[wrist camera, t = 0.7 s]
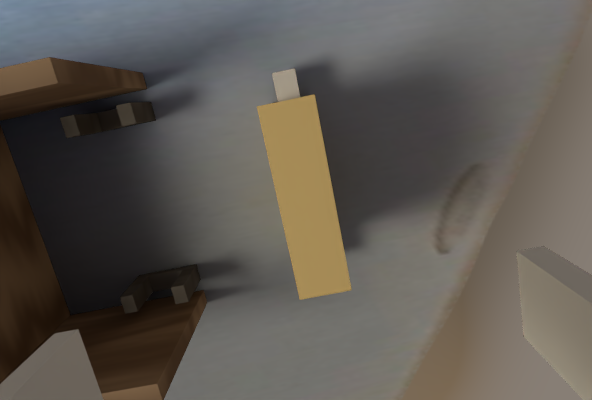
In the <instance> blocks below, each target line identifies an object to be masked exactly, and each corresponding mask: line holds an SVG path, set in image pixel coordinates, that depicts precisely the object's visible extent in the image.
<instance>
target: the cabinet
mask: <svg viewBox="0 0 592 400" xmlns="http://www.w3.org/2000/svg"><path fill="white" fill-rule="evenodd" d="M144 89H147V87H146V83H145V80H144V76H143V73H141V72H135V71H129V70H123V69H117V68H111V67H105V66H99V65H93V64H87V63H81V62H75V61H69V60H63V59H57V58H51V57H48V58H44V59H40V60H35V61H31V62H26V63H22V64H17V65H13V66H8V67H4V68H0V121H2V120H6V119H11V118H16V117H20V116H25V115H29V114H34V113H39V112H43V111H48V110H52V109H57V108H62V107H66V106H71V105H75V104H80V103H85V102H89V101H94V100H98V99H103V98H108V97H112V96H117V95H121V94H126V93H130V92H135V91H140V90H144ZM116 107H117V109H114V110H109V111H104V112H100V113H92V114H78V115H70V116H66V117H61V118H60V120H61V123H62V126H63V129H64V132H65V135H66V138H70V137H76V136H82V135H88V134H94V133H99V132H103V131H108V130H113V129H117V128H122V127H127V126H131V125H136V124H141V123H146V122H150V121H155V120H156V119H155V115H154V112H153V108H152V105H151V102H133V103H126V104H121V105H117V106H116ZM200 280H201V279H200V275H199V272H198V268H197V265H191V266H185V267H180V268H175V269H170V270H165V271H160V272H154V273H149V274H144V275H139V276H138V278H137V279H136V280H135V281H134V282H133V283H132V284H131V285H130V286H129V288H128V289H127V290H126V291H125V292H124V293H123V294H122V295H121V296H120V299H121V302H122V306H117V307H111V308H106V309H101V310H95V311H90V312H85V313H79V314H74V315H70V312H69V310H68V307H67V304H66V302H65V299H64V296H63V293H62V291H61V288H60V285H59V283H58V280H57V277H56V275H55V272H54V269H53V266H52V264H51V261H50V258H49V256H48V253H47V250H46V247H45V245H44V242H43V239H42V237H41V234H40V231H39V229H38V226H37V223H36V220H35V218H34V215H33V212H32V210H31V207H30V204H29V201H28V199H27V196H26V193H25V191H24V188H23V185H22V183H21V180H20V177H19V174H18V172H17V169H16V166H15V164H14V161H13V158H12V156H11V153H10V150H9V147H8V145H7V142H6V139H5V137H4V134H3V131H2V128H1V126H0V384H1V383H2V382H3V381H4V380H5V379H6V378H7V377H8V376H9V375H11V374H12V373H13V372H14V371H15V370H16V369H17V368H18V367H19V366H20V365H21V364H22V363H23V362H24V361H26V360H27V359H28V358H29V357H30V356H31V355H32V354H33V353H34V352H35V351H36V350H37V349H38V348H39V347H41V346H42V345H43V344H44V343H45V342H46V341H47V340H48V339H49V338H50V337H51V336H52V335H53V334H54V333H60V332H65V331H71V330H77V329H78V330H79V333H80V336H81V338H82V341H83V344H84V347H85V349H86V352H87V355H88V358H89V361H90V363H91V366H92V369H93V372H94V375H95V377H96V380H97V383H98V386H99V389H100V391H101V394H102V397H103V400H164V398H165V395H166V393H167V391H168V389H169V386H170V384H171V382H172V380H173V378H174V375H175V373H176V371H177V369H178V366H179V364H180V362H181V360H182V357H183V355H184V353H185V351H186V349H187V346H188V344H189V342H190V340H191V337H192V335H193V333H194V331H195V328H196V326H197V324H198V322H199V320H200V317H201V315H202V313H203V311H204V308H205V306H206V304H207V300H206V297H205V293H204V290H201V291H196V292H194V291H195V289H196V287H197V285H198V283H199V282H200ZM170 288H171V290H172V293H173V296H169V297H164V298H159V299H154V300H148V301H146V300H147V299H148V297H149V296H150V295H151V293H152V292H154V291H159V290H165V289H170Z"/></svg>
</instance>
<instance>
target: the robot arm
mask: <svg viewBox="0 0 592 400" xmlns="http://www.w3.org/2000/svg"><path fill="white" fill-rule="evenodd" d="M516 253H517V265H518V277H519V288H520V301H521V313H522V325H523V336H524V337H525V338H526V340H527V341H528V342H529V343H530V344H531V345H532V346H533V347H534V348H535V349H536V350H537V351H538V352H539V354H540V355H541V356H542V357H543V358H544V359H545V360H546V361H547V362H548V363H549V364H550V365H551V366H552V367H553V368H554V370H555V371H557V373H558V374H559V375H560V376H561V377H562V378H563V379H564V380H565V381H566V382H567V383H568V384H569V385H570V387H571V388H572V389H573V390H574V391H575V392H576V393H577V394H578V395H579V396H580V397H581V398H582V399H583V400H592V275H591V274H589V273H588V272H586V271H584V270H583V269H581V268H579V267H578V266H576V265H574V264H573V263H571V262H569V261H568V260H566V259H564V258H563V257H561V256H559V255H558V254H556V253H554V252H553V251H551V250H550V249H548V248H546V247H544V246H541V247H536V248H530V249H524V250H519V251H516ZM0 400H103V397H102V394H101V391H100V389H99V386H98V383H97V380H96V377H95V375H94V372H93V369H92V366H91V363H90V361H89V358H88V355H87V352H86V349H85V347H84V344H83V341H82V338H81V336H80V333H79V330H78V329H77V330H71V331H65V332H60V333H54V334H53V335H52V336H51V337H50V338H49V339H48V340H47V341H46V342H45V343H44V344H43V345H42V346H41V347H39V348H38V349H37V350H36V351H35V352H34V353H33V354H32V355H31V356H30V357H29V358H28V359H27V360H26V361H24V362H23V363H22V364H21V365H20V366H19V367H18V368H17V369H16V370H15V371H14V372H13V373H12V374H11V375H9V376H8V377H7V378H6V379H5V380H4V381H3V382H2V383H1V384H0Z"/></svg>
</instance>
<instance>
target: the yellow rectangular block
mask: <svg viewBox="0 0 592 400" xmlns="http://www.w3.org/2000/svg"><path fill="white" fill-rule="evenodd" d="M272 76H273V81H274V85H275V90H276V95H277V100H278V102H276V103H271V104H267V105H262V106H257V110H258V114H259V119H260V123H261V128H262V132H263V136H264V141H265V145H266V150H267V154H268V159H269V163H270V168H271V172H272V177H273V181H274V186H275V190H276V195H277V199H278V204H279V208H280V213H281V217H282V222H283V226H284V231H285V235H286V240H287V244H288V249H289V253H290V258H291V262H292V267H293V271H294V276H295V280H296V285H297V289H298V294H299V298H300V300H301V299H306V298H312V297H317V296H323V295H328V294H333V293H339V292H344V291H350V290H351V284H350V279H349V274H348V268H347V263H346V258H345V253H344V247H343V242H342V237H341V231H340V226H339V221H338V216H337V210H336V205H335V200H334V194H333V189H332V184H331V179H330V173H329V168H328V163H327V157H326V152H325V147H324V142H323V136H322V131H321V126H320V120H319V115H318V110H317V105H316V99H315V94H314V95H309V96H304V97H300V93H299V88H298V83H297V78H296V73H295V68H294V69H290V70H285V71H280V72H276V73H272Z"/></svg>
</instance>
